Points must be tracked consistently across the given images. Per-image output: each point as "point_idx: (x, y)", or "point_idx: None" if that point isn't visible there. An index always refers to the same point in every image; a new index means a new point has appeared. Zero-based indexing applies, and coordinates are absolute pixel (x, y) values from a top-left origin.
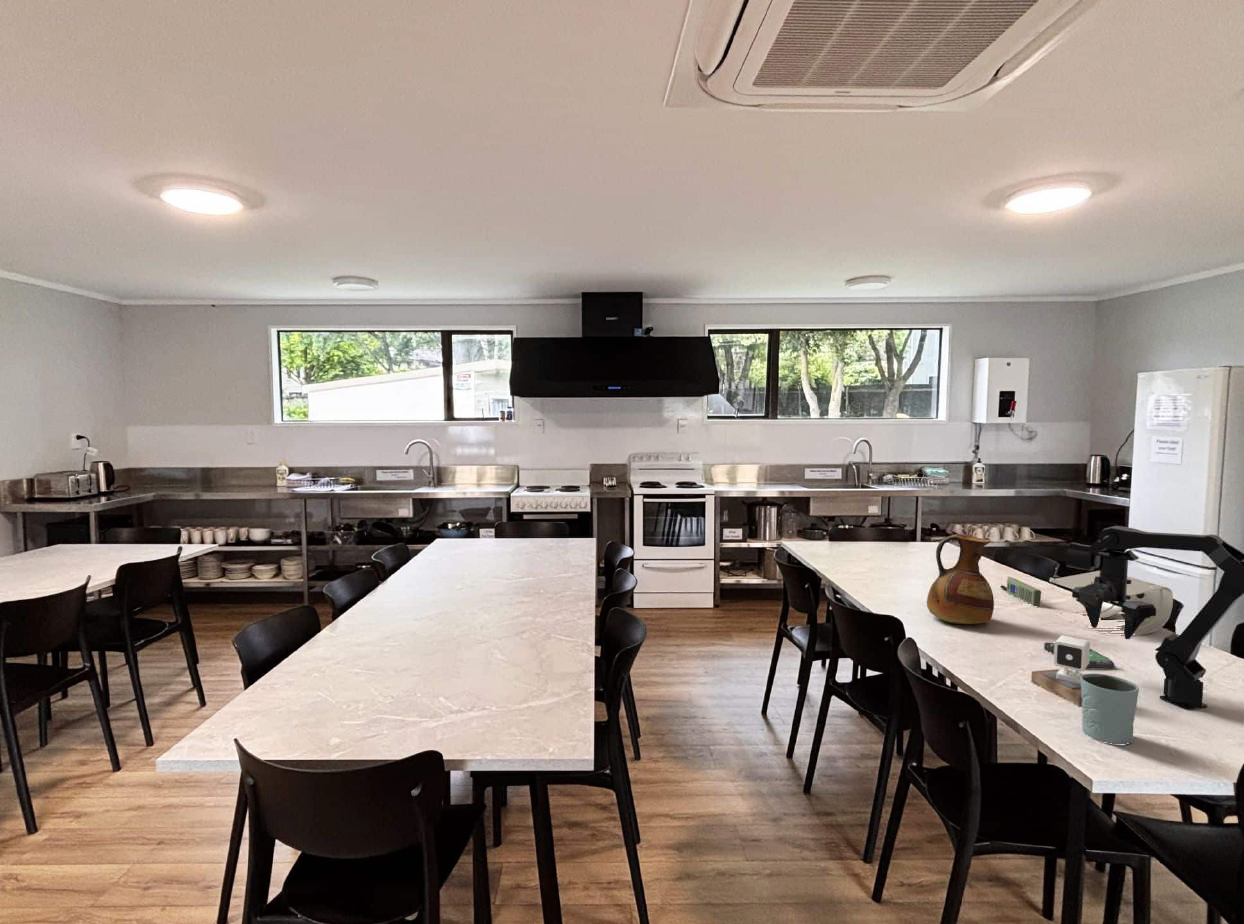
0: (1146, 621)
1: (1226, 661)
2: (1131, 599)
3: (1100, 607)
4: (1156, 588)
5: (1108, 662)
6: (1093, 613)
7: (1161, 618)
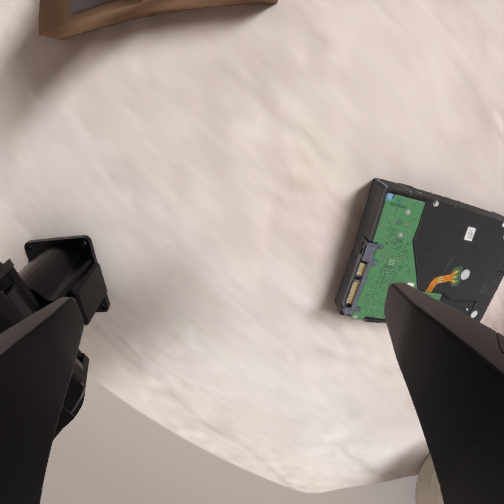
0: None
1: (296, 484)
2: None
3: (448, 489)
4: None
5: (347, 298)
6: (461, 387)
7: (424, 491)
